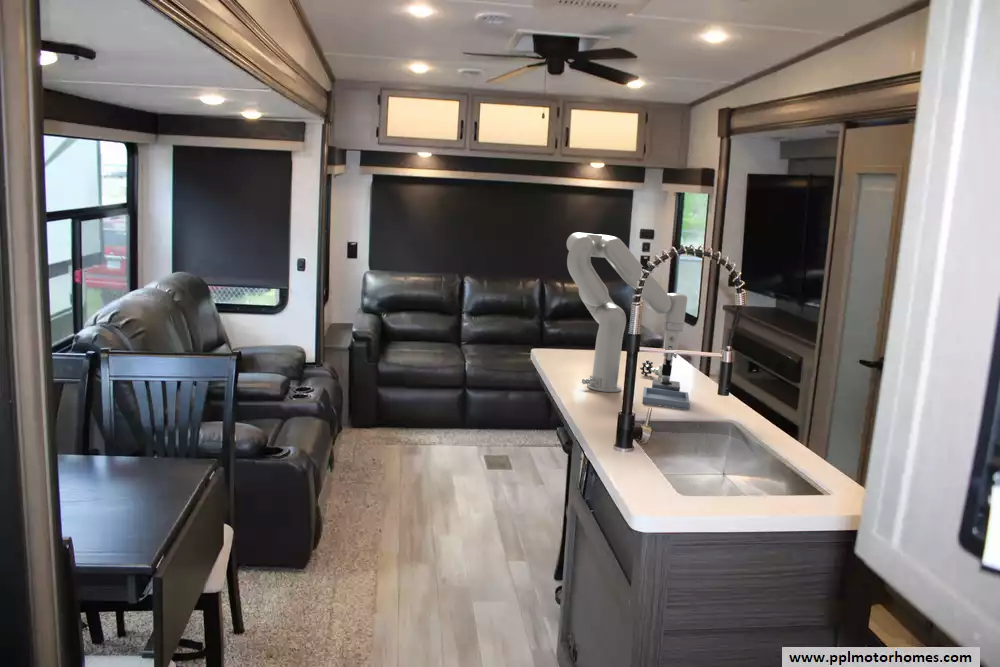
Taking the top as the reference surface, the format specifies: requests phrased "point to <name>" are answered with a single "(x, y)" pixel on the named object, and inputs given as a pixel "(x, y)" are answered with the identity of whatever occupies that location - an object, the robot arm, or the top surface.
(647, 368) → the valve
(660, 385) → the block
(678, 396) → the parts tray
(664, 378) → the lock pin
